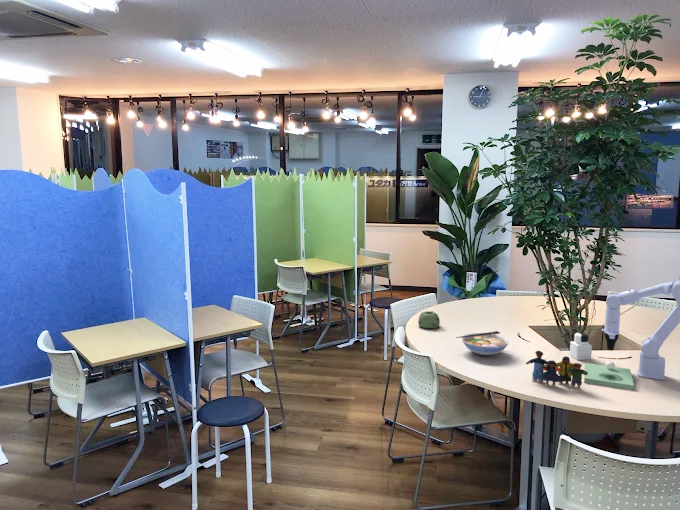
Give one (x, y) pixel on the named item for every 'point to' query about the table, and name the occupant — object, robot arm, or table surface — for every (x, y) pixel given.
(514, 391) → the table surface
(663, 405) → the table surface
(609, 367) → the ball
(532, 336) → the table surface
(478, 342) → the ramen bowl
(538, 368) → the doll family
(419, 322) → the green dome
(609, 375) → the deck
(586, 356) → the medicine bottle
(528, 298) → the table surface
